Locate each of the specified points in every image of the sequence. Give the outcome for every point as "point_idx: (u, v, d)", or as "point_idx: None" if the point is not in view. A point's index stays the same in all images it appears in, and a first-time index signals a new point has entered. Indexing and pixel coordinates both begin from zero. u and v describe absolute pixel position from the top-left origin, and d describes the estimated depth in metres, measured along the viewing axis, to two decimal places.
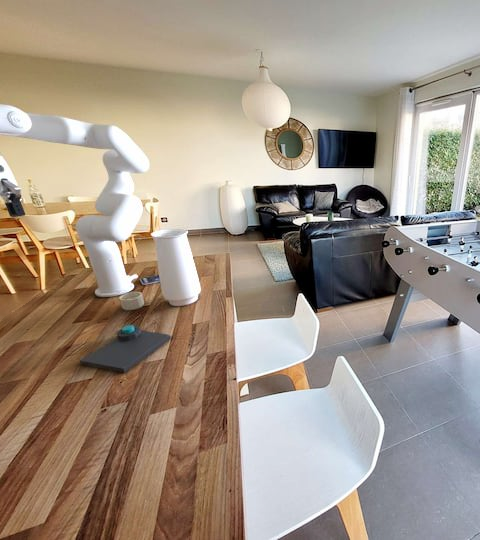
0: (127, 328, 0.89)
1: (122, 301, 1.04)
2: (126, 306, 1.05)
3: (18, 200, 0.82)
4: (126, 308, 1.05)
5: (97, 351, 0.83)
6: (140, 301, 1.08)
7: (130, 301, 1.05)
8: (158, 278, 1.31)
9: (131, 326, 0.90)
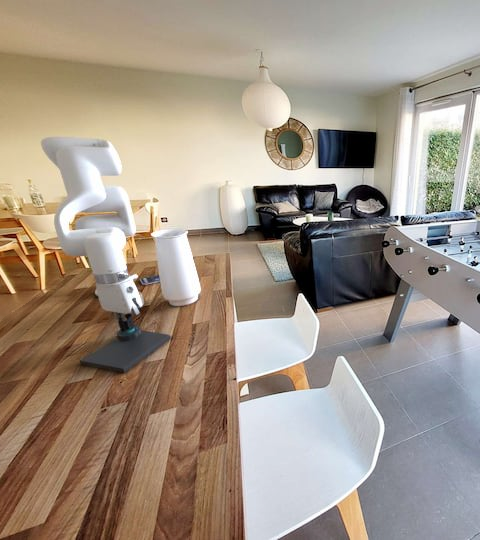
0: None
1: None
2: None
3: (131, 317, 0.88)
4: None
5: (97, 351, 0.83)
6: None
7: None
8: (158, 278, 1.31)
9: None
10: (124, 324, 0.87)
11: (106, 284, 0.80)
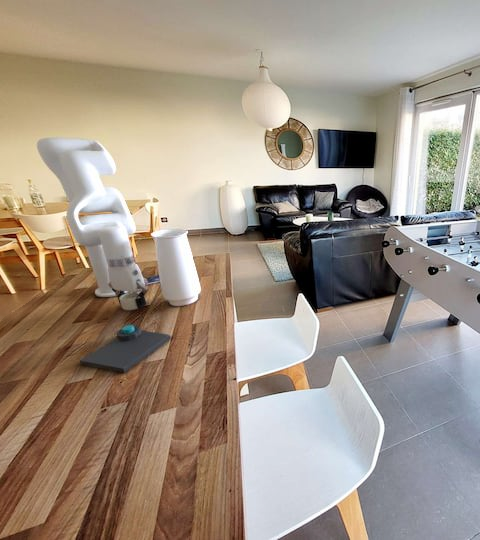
0: (127, 328, 0.89)
1: (122, 301, 1.04)
2: (126, 306, 1.05)
3: (143, 295, 1.07)
4: (126, 308, 1.05)
5: (97, 351, 0.83)
6: None
7: (130, 301, 1.05)
8: (158, 278, 1.31)
9: (131, 326, 0.90)
10: (138, 301, 1.06)
11: (116, 267, 0.99)
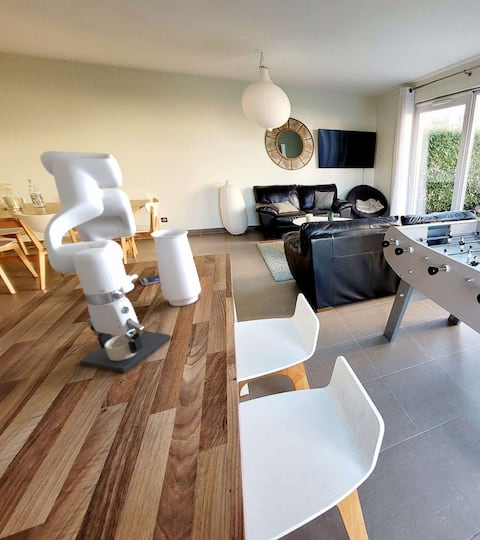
0: None
1: (108, 350, 0.78)
2: (114, 356, 0.78)
3: (139, 337, 0.79)
4: (114, 358, 0.79)
5: (97, 351, 0.83)
6: None
7: (119, 349, 0.78)
8: (158, 278, 1.31)
9: None
10: (131, 345, 0.79)
11: (99, 305, 0.72)
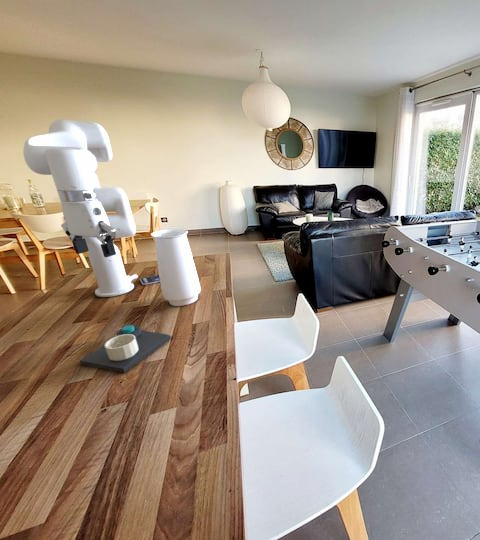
0: (127, 328, 0.89)
1: (108, 350, 0.78)
2: (114, 356, 0.78)
3: (112, 241, 0.84)
4: (114, 358, 0.79)
5: (97, 351, 0.83)
6: (133, 348, 0.81)
7: (119, 349, 0.78)
8: (158, 278, 1.31)
9: (131, 326, 0.90)
10: (104, 248, 0.83)
11: (71, 202, 0.77)
